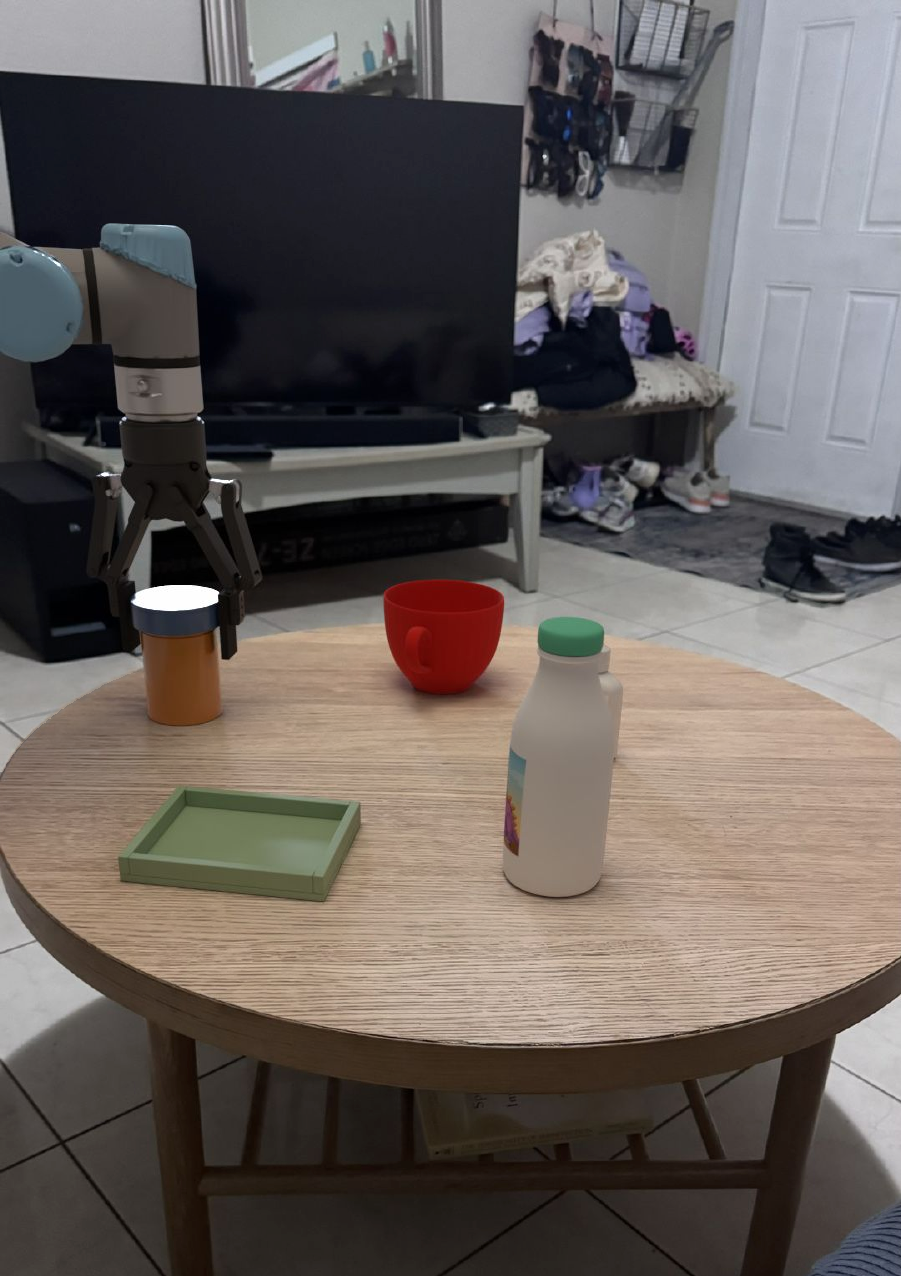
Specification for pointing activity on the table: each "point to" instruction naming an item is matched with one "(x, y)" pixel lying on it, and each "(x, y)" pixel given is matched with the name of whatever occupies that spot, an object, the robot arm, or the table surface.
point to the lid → (175, 610)
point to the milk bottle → (560, 766)
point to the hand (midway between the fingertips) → (180, 651)
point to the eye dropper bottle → (611, 692)
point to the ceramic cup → (443, 631)
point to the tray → (243, 843)
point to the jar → (182, 677)
